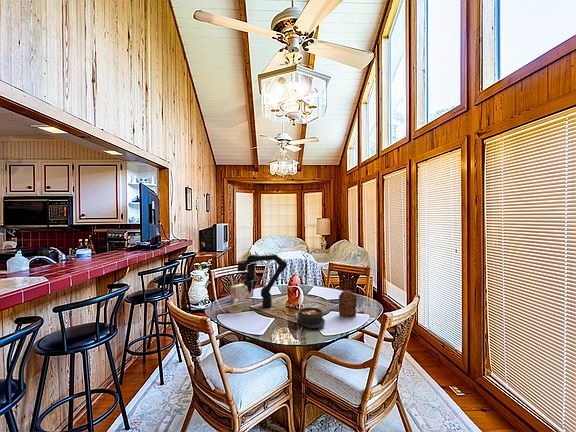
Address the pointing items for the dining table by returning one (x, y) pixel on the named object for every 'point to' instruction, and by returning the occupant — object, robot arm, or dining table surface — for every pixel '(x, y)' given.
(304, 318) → the casserole
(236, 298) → the steel rod
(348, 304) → the wooden figurine
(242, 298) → the stack of blocks
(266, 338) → the dining table surface
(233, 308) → the wooden bead
